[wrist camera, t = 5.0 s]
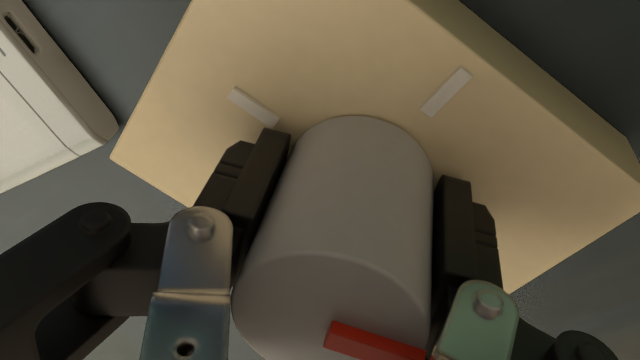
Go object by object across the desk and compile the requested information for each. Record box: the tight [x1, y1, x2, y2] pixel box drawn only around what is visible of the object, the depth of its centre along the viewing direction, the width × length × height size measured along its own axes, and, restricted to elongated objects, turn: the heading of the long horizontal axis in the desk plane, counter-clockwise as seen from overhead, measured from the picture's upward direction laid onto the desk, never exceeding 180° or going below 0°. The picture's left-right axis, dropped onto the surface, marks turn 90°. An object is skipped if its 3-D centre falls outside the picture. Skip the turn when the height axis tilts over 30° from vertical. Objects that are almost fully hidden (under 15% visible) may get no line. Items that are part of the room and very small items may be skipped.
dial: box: [231, 116, 434, 360], centre depth 12 cm, size 4×4×5 cm
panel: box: [110, 0, 640, 294], centre depth 16 cm, size 12×9×3 cm
